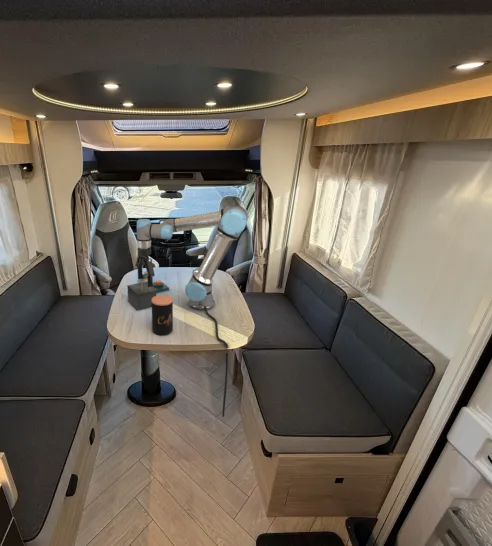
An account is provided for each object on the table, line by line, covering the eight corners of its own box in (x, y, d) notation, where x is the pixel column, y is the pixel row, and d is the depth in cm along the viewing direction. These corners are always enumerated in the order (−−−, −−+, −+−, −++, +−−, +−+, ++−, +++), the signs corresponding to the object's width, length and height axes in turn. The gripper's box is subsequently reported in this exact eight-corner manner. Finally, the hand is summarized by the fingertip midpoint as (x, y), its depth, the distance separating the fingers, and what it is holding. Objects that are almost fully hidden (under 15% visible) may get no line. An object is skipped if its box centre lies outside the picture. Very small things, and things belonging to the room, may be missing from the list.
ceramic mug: (153, 279, 227) (153, 269, 224) (152, 283, 219) (151, 273, 216) (139, 279, 227) (138, 269, 225) (137, 283, 220) (136, 273, 217)
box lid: (157, 291, 183) (157, 278, 180) (137, 296, 177) (137, 282, 174) (145, 282, 195) (145, 270, 192) (127, 286, 189) (126, 274, 186)
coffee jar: (157, 338, 154) (156, 305, 147) (149, 328, 163) (148, 297, 156) (176, 333, 158) (176, 301, 152) (167, 323, 167) (166, 293, 161)
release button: (161, 284, 209) (161, 281, 208) (157, 285, 207) (157, 282, 207) (159, 282, 212) (159, 280, 211) (154, 283, 210) (154, 281, 210)
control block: (169, 290, 208) (169, 284, 207) (155, 293, 204) (155, 287, 202) (160, 284, 218) (160, 279, 217) (147, 287, 213) (147, 281, 212)
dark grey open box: (156, 305, 187) (156, 291, 183) (137, 310, 181) (136, 295, 178) (146, 296, 199) (145, 282, 195) (128, 301, 193) (127, 286, 189)
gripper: (160, 252, 164) (160, 288, 171) (141, 241, 184) (142, 274, 191) (147, 254, 160) (148, 291, 168) (129, 242, 180) (130, 276, 188)
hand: (145, 282), depth 180 cm, fingers open, 13 cm apart
